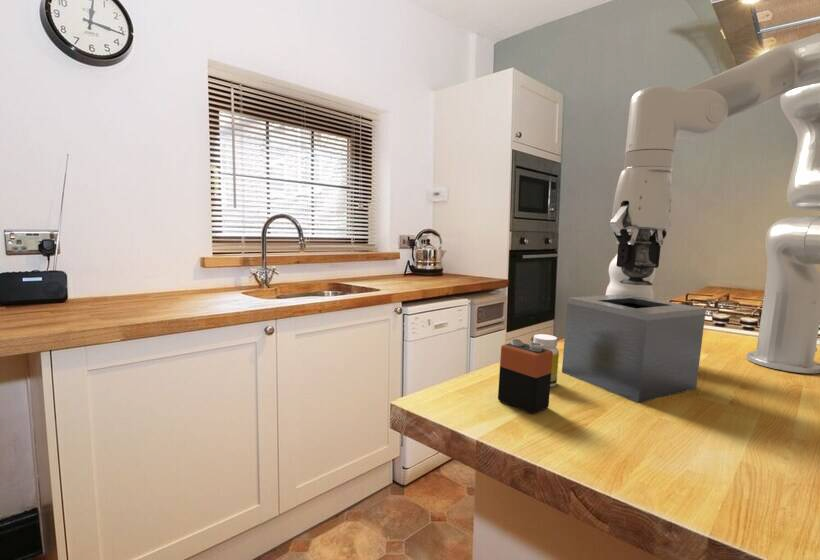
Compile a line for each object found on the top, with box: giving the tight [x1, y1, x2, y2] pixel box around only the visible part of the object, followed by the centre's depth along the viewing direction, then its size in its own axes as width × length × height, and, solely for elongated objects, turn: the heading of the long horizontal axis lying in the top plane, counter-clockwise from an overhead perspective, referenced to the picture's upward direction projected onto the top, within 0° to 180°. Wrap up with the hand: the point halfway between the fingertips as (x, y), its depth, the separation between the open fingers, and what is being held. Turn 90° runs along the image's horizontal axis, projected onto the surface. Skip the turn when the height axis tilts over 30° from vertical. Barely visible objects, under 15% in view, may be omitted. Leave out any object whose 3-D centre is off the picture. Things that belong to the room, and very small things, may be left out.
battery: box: [497, 338, 553, 415], centre depth 68 cm, size 4×7×10 cm, turn 41°
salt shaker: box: [620, 229, 656, 286], centre depth 79 cm, size 6×6×12 cm
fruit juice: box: [605, 231, 657, 299], centre depth 96 cm, size 9×9×28 cm
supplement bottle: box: [532, 333, 560, 388], centre depth 78 cm, size 5×5×8 cm
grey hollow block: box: [561, 294, 707, 403], centre depth 81 cm, size 16×16×14 cm
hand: (637, 266), depth 79 cm, fingers closed on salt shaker, 5 cm apart
